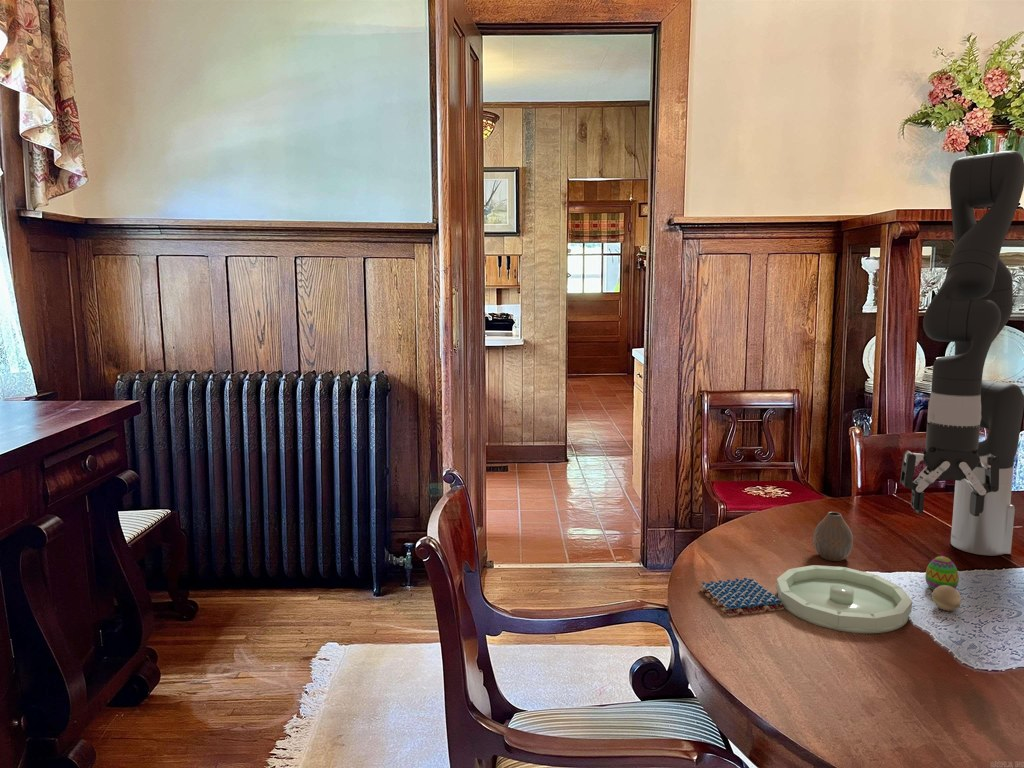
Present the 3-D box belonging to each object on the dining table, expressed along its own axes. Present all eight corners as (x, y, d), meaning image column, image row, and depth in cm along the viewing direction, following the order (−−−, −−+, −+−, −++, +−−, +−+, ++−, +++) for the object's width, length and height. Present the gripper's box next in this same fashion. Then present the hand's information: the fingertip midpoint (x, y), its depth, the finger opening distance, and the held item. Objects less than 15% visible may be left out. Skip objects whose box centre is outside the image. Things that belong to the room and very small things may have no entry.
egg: (919, 588, 124) (921, 555, 123) (932, 581, 127) (934, 549, 126) (950, 598, 120) (953, 564, 119) (962, 590, 123) (965, 557, 122)
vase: (856, 565, 134) (858, 520, 133) (816, 563, 136) (819, 518, 135) (846, 551, 141) (849, 508, 140) (809, 549, 143) (811, 507, 141)
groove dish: (887, 584, 126) (888, 569, 126) (927, 638, 107) (928, 622, 107) (770, 576, 130) (771, 562, 130) (788, 627, 111) (788, 611, 111)
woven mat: (727, 620, 115) (728, 608, 115) (697, 592, 125) (698, 581, 125) (786, 613, 117) (787, 601, 117) (752, 586, 127) (752, 575, 127)
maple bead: (954, 605, 118) (956, 581, 117) (964, 616, 114) (966, 592, 114) (927, 603, 119) (929, 580, 118) (936, 614, 115) (938, 590, 114)
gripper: (991, 416, 122) (983, 509, 124) (899, 414, 125) (893, 504, 127) (1012, 425, 114) (1003, 523, 117) (913, 422, 117) (907, 518, 120)
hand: (946, 513), depth 122 cm, fingers open, 8 cm apart
